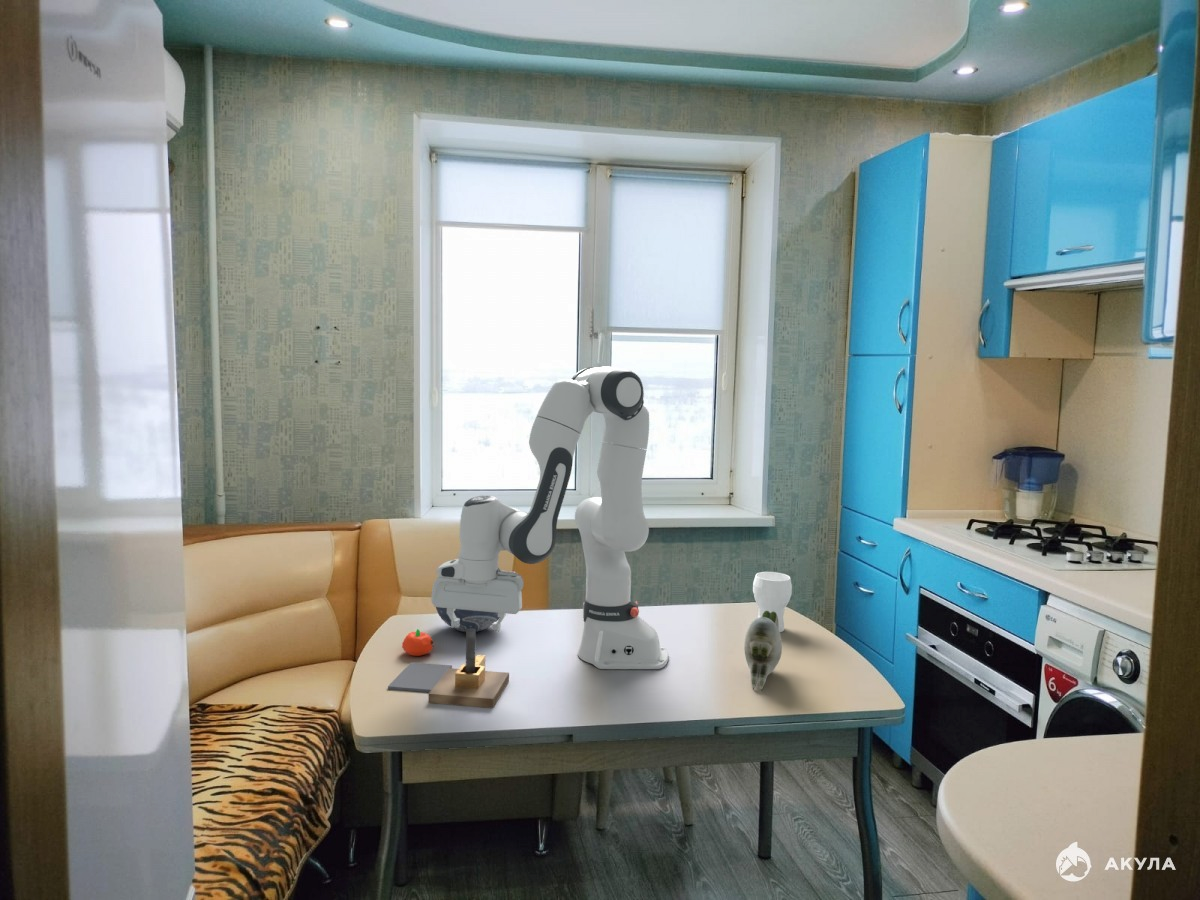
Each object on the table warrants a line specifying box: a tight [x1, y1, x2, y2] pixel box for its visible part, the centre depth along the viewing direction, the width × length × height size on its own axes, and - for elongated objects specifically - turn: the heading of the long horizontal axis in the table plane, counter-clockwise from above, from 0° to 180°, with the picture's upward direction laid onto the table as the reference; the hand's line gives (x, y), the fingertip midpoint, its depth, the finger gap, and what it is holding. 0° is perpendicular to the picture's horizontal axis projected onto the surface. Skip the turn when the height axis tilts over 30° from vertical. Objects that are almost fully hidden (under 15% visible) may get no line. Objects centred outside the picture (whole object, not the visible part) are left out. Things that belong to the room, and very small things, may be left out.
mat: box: [387, 661, 453, 693], centre depth 175 cm, size 10×14×1 cm
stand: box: [428, 628, 510, 709], centre depth 168 cm, size 14×14×14 cm
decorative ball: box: [435, 567, 501, 633], centre depth 206 cm, size 20×20×20 cm
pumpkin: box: [401, 628, 434, 657], centre depth 189 cm, size 7×8×6 cm
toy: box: [743, 611, 783, 692], centre depth 182 cm, size 8×15×20 cm
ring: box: [455, 654, 486, 689], centre depth 171 cm, size 5×11×3 cm, turn 173°
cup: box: [752, 571, 793, 633], centre depth 215 cm, size 11×11×15 cm
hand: (475, 628), depth 173 cm, fingers open, 8 cm apart
